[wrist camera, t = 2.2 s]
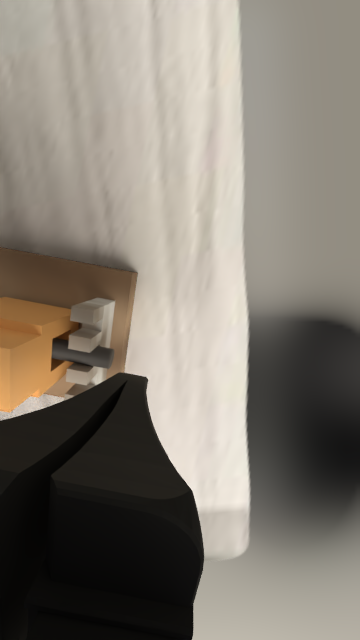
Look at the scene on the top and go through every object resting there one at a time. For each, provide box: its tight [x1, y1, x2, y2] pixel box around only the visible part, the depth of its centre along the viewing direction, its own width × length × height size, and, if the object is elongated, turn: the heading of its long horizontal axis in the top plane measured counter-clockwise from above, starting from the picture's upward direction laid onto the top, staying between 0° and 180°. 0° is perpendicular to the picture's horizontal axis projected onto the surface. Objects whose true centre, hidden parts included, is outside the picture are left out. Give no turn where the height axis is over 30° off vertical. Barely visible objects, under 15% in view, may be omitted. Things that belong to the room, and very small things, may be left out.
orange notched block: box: [0, 297, 79, 413], centre depth 13 cm, size 4×5×6 cm
